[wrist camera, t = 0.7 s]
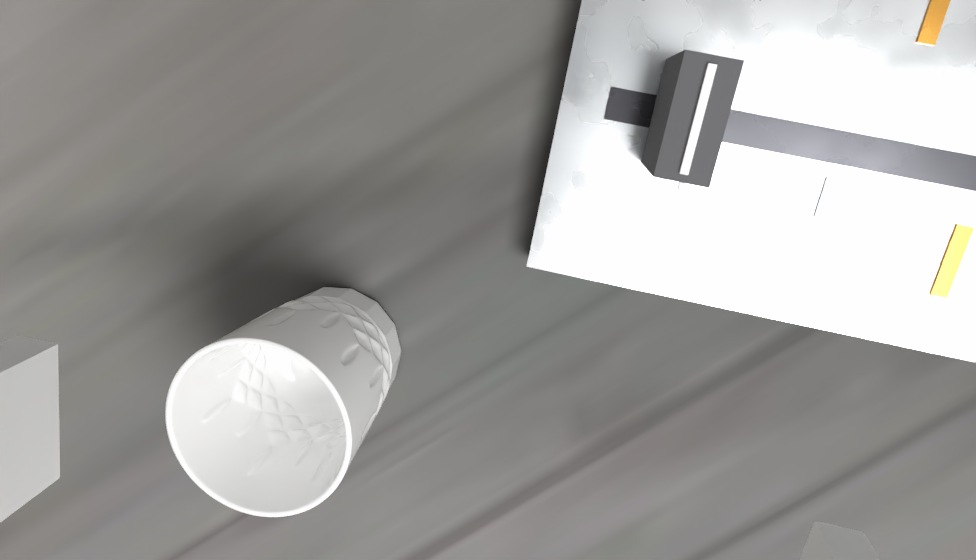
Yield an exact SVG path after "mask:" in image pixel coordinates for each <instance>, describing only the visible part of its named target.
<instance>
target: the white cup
mask: <svg viewBox="0 0 976 560" xmlns="http://www.w3.org/2000/svg"><path fill="white" fill-rule="evenodd" d="M400 355H401V348H400V344H399V339H398V335H397V331H396V327H395V324H394V323H393V321H392V320H391V319H390V318H389V316H388V315H387V314H386V313H385V311H384V310H383V309H382V308H381V306H380V305H379V304H378V302H376V301H374V300H372V299H370V298H369V297H367V296H365V295H363V294H361V293H359V292H357V291H356V290H354V289H351V288H334V287H323V288H320V289H318V290H316V291H313V292H311V293H309V294H306V295H304V296H302V297H299V298H298V299H296V300H293V301H289V302H287V303H285V304H283V305H281V306H279V307H277V308H274V309H273V310H271V311H269V312H267V313H265V314H263V315H261V316H259V317H257V318H256V319H254V320H252V321H250V322H249V323H247V324H245V325H243V326H241V327H240V328H238V329H236V330H234V331H233V332H231V333H229V334H227V335H225V336H224V337H222V338H220V339H218V340H216V341H215V342H213V343H211V344H209V345H207V346H205V347H204V348H202V349H200V350H199V351H197V352H196V353H194V354H193V355H192V356H191V357H190V358H188V359H187V360H186V361H185V363H184V364H183V365H182V366H181V367H180V369H179V370H178V372H177V373H176V375H175V377H174V379H173V381H172V383H171V385H170V388H169V391H168V395H167V400H166V409H165V417H166V427H167V432H168V436H169V440H170V443H171V446H172V448H173V451H174V453H175V455H176V457H177V459H178V461H179V462H180V464H181V466H182V467H183V469H184V470H185V471H186V473H187V474H188V475H189V477H190V478H191V479H192V480H193V481H194V482H195V483H196V484H197V485H198V486H199V487H200V488H201V489H202V490H203V491H205V492H206V493H207V494H208V495H210V496H211V497H213V498H214V499H216V500H217V501H219V502H220V503H222V504H224V505H226V506H228V507H230V508H232V509H235V510H237V511H240V512H243V513H247V514H251V515H256V516H263V517H283V516H290V515H295V514H298V513H301V512H304V511H307V510H309V509H311V508H313V507H315V506H316V505H318V504H320V503H321V502H322V501H324V500H325V499H326V498H327V497H328V496H330V495H331V494H332V492H333V491H334V490H335V489H336V488H337V486H338V485H339V484H340V482H341V480H342V479H343V477H344V475H345V473H346V471H347V469H348V468H349V466H350V464H351V462H352V460H353V458H354V457H355V455H356V453H357V451H358V449H359V448H360V446H361V444H362V442H363V440H364V439H365V437H366V435H367V433H368V431H369V430H370V428H371V426H372V424H373V422H374V420H375V418H376V416H377V413H378V411H379V410H380V408H381V406H382V404H383V402H384V400H385V397H386V395H387V392H388V389H389V387H390V386H391V384H392V382H393V381H394V379H395V377H396V372H397V368H398V364H399V359H400Z"/></svg>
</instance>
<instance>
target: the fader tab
mask: <svg viewBox="0 0 976 560" xmlns="http://www.w3.org/2000/svg"><path fill="white" fill-rule="evenodd" d="M743 63H744V60H739V59H734V58H728V57H723V56H718V55H712V54H707V53H701V52H696V51H690V50H683V51H681V52H679V53H677V54H675V55H673V56H671V57H669V58H667V59H666V61H665V65H664V69H663V73H662V77H661V81H660V85H659V89H658V93H657V97H656V102H655V106H654V110H653V114H652V118H651V122H650V126H649V130H648V134H647V138H646V143H645V147H644V151H643V155H642V159H641V163H642V164H643V165H644V166H645V168H646V169H647V170H648V171H649V172H650V173H651V175H652V176H653V177H657V178H662V179H667V180H672V181H677V182H682V183H687V184H692V185H697V186H702V187H707V188H709V187H710V183H711V180H712V176H713V172H714V169H715V165H716V162H717V158H718V154H719V151H720V147H721V143H722V140H723V136H724V132H725V129H726V125H727V121H728V118H729V114H730V110H731V107H732V103H733V100H734V96H735V92H736V89H737V85H738V81H739V78H740V74H741V70H742V67H743Z"/></svg>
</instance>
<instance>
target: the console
mask: <svg viewBox="0 0 976 560" xmlns="http://www.w3.org/2000/svg"><path fill="white" fill-rule="evenodd" d="M683 50H690V51H696V52H701V53H707V54H712V55H718V56H723V57H728V58H734V59H739V60H744V63H743V67H742V70H741V74H740V78H739V81H738V85H737V89H736V92H735V96H734V100H733V103H732V107H731V110H730V114H729V118H728V121H727V125H726V129H725V132H724V136H723V140H722V143H721V147H720V151H719V154H718V158H717V162H716V165H715V169H714V172H713V176H712V180H711V183H710V187H709V188H707V187H702V186H697V185H692V184H687V183H682V182H677V181H672V180H667V179H662V178H657V177H653V176H652V175H651V173H650V172H649V171H648V170H647V169H646V168H645V166H644V165H643V164H642V163H641V159H642V155H643V151H644V147H645V143H646V138H647V134H648V130H649V126H650V122H651V118H652V114H653V110H654V106H655V102H656V97H657V93H658V89H659V85H660V81H661V77H662V73H663V69H664V65H665V61H666V59H667V58H669V57H671V56H673V55H675V54H677V53H679V52H681V51H683ZM527 267H532V268H537V269H541V270H546V271H551V272H555V273H560V274H565V275H569V276H574V277H579V278H583V279H588V280H593V281H597V282H602V283H607V284H611V285H616V286H621V287H625V288H630V289H635V290H639V291H644V292H649V293H653V294H658V295H663V296H667V297H672V298H677V299H681V300H686V301H691V302H695V303H700V304H705V305H709V306H714V307H719V308H723V309H728V310H733V311H738V312H742V313H747V314H752V315H756V316H761V317H766V318H770V319H775V320H780V321H784V322H789V323H794V324H798V325H803V326H808V327H812V328H817V329H822V330H826V331H831V332H836V333H840V334H845V335H850V336H854V337H859V338H864V339H868V340H873V341H878V342H882V343H887V344H892V345H896V346H901V347H906V348H910V349H915V350H920V351H924V352H929V353H934V354H938V355H943V356H948V357H952V358H957V359H962V360H966V361H971V362H976V0H582V2H581V7H580V12H579V16H578V21H577V26H576V31H575V36H574V41H573V45H572V50H571V55H570V60H569V65H568V69H567V74H566V79H565V84H564V89H563V94H562V98H561V103H560V108H559V113H558V118H557V123H556V127H555V132H554V137H553V142H552V147H551V152H550V156H549V161H548V166H547V171H546V176H545V181H544V185H543V190H542V195H541V200H540V205H539V209H538V214H537V219H536V224H535V229H534V234H533V238H532V243H531V248H530V253H529V258H528V263H527Z"/></svg>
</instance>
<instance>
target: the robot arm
mask: <svg viewBox="0 0 976 560" xmlns="http://www.w3.org/2000/svg"><path fill="white" fill-rule="evenodd" d="M59 478H60V454H59V384H58V344H55V343H51V342H47V341H42V340H38V339H34V338H30V337H25V336H21V335H16V336H14V337H12V338H10V339H8V340H5V341H3V342H1V343H0V522H2V521H3V520H4V519H6V518H7V517H8V516H10V515H11V514H12V513H14V512H15V511H16V510H18V509H19V508H20V507H22V506H23V505H24V504H25V503H27V502H28V501H29V500H31V499H32V498H33V497H35V496H36V495H37V494H39V493H40V492H41V491H43V490H44V489H45V488H47V487H48V486H49V485H51V484H52V483H53V482H55V481H56V480H57V479H59ZM800 560H880V559H879V557H878V555H877V554H876V552H875V550H874V549H873V547H872V545H871V544H870V542H869V540H868V539H867V537H866V535H865V534H864V532H861V531H857V530H853V529H848V528H844V527H840V526H835V525H831V524H827V523H823V522H818V521H814V524H813V526H812V529H811V532H810V534H809V537H808V540H807V542H806V545H805V548H804V550H803V553H802V556H801V558H800Z"/></svg>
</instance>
